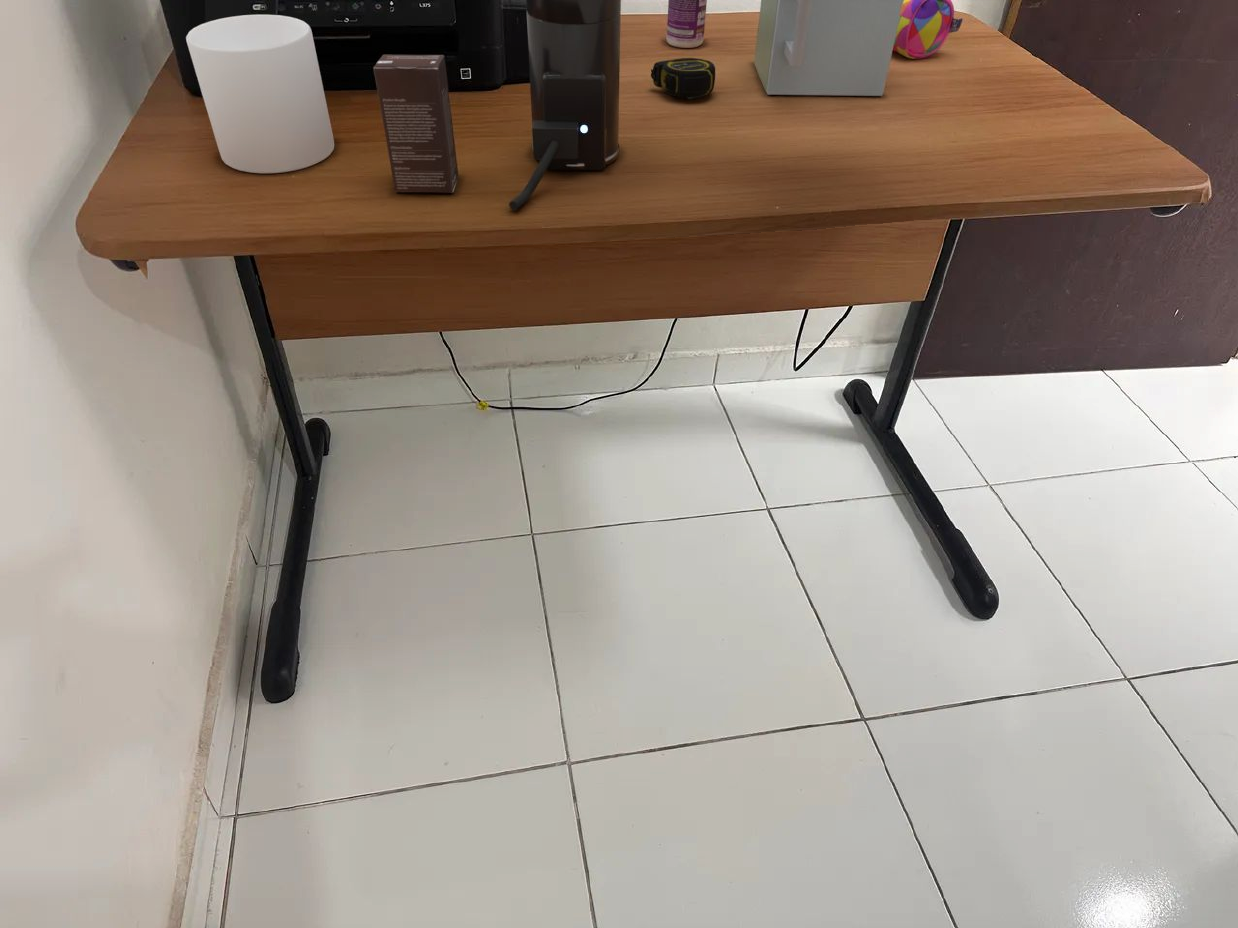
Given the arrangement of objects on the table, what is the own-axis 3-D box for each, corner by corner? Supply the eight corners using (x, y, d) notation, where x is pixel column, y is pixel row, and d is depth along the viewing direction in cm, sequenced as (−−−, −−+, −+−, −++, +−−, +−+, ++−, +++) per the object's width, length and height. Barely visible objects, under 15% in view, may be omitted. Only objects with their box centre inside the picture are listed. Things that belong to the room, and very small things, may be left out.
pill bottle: (704, 49, 121) (710, -28, 115) (666, 48, 121) (670, -29, 115) (702, 37, 125) (708, -38, 119) (665, 36, 125) (669, -39, 119)
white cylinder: (356, 139, 96) (334, 22, 88) (292, 181, 88) (262, 57, 80) (266, 123, 99) (237, 9, 91) (197, 163, 91) (158, 41, 82)
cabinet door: (893, 111, 105) (928, -41, 94) (773, 110, 104) (794, -43, 93) (880, 93, 109) (912, -54, 98) (766, 92, 109) (785, -56, 98)
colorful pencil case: (957, 57, 121) (976, -14, 115) (904, 66, 118) (921, -7, 112) (860, 15, 135) (872, -50, 129) (810, 22, 132) (821, -45, 126)
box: (459, 176, 90) (446, 53, 81) (453, 195, 86) (438, 69, 78) (401, 175, 90) (381, 51, 81) (392, 194, 86) (371, 67, 78)
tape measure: (697, 82, 112) (700, 51, 109) (723, 100, 107) (726, 68, 104) (649, 89, 110) (651, 58, 107) (673, 107, 105) (675, 75, 102)
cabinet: (880, 94, 110) (912, -56, 99) (765, 92, 109) (785, -58, 98) (860, 65, 118) (888, -76, 107) (753, 63, 117) (770, -78, 106)
